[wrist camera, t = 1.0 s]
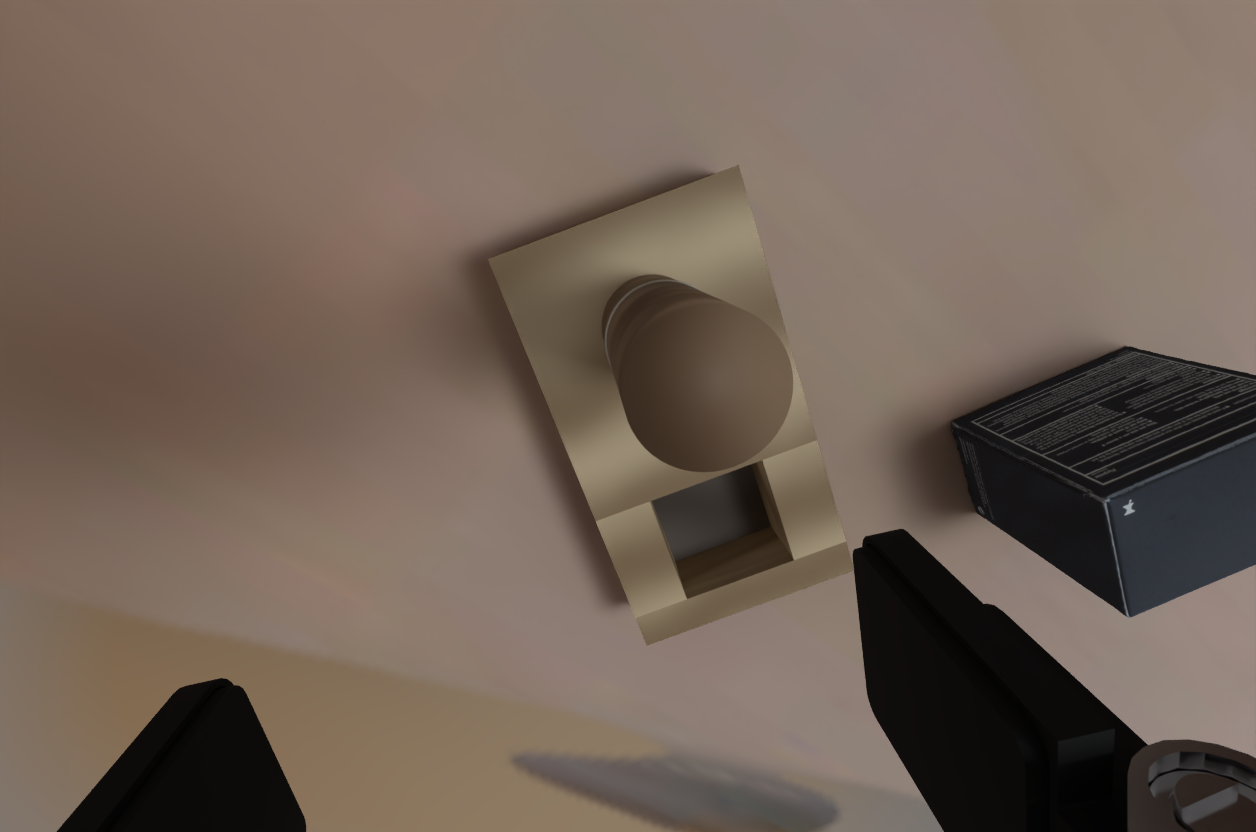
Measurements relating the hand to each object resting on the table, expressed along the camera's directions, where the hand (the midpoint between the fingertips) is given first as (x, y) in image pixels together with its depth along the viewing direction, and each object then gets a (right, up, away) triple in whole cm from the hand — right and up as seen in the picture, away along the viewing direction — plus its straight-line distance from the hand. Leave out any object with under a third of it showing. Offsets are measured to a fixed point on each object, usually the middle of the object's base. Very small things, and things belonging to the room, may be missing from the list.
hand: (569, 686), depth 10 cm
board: (+3, +5, +23) cm, 24 cm away
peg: (+2, +8, +18) cm, 20 cm away
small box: (+24, +3, +26) cm, 36 cm away
